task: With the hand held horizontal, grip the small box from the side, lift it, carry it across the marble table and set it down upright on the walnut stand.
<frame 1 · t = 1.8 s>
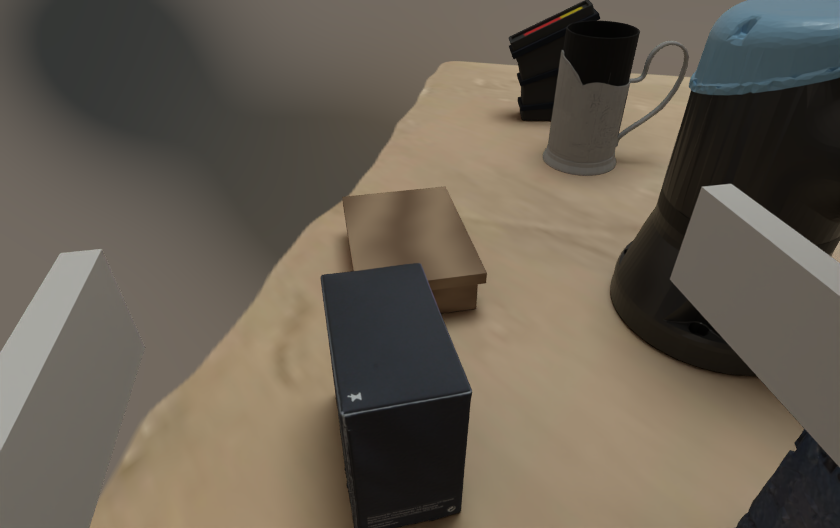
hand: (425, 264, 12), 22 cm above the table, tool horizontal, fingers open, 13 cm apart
small box: (394, 448, 34), on the table
walnut stand: (408, 268, 48), on the table
glass holder: (600, 160, 66), on the table
magazine: (549, 118, 77), on the table
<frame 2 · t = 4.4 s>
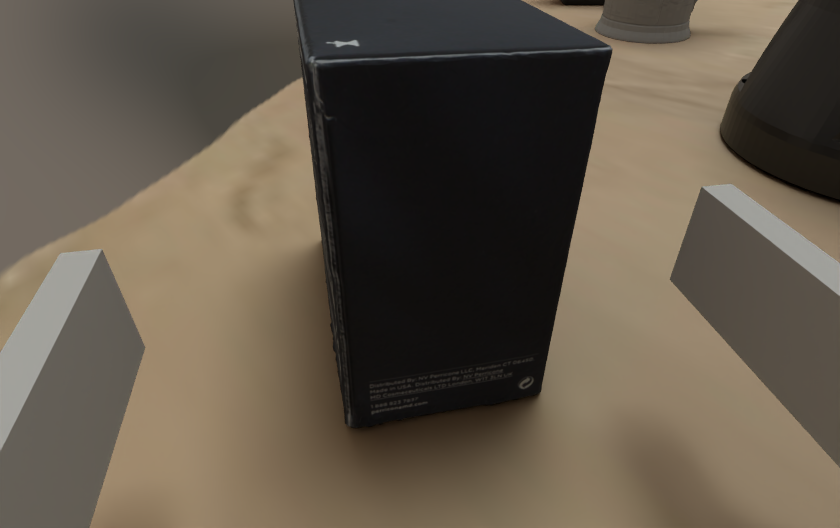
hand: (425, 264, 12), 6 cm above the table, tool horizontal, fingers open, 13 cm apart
small box: (416, 307, 20), on the table
glass holder: (669, 33, 52), on the table
magazine: (596, 4, 63), on the table
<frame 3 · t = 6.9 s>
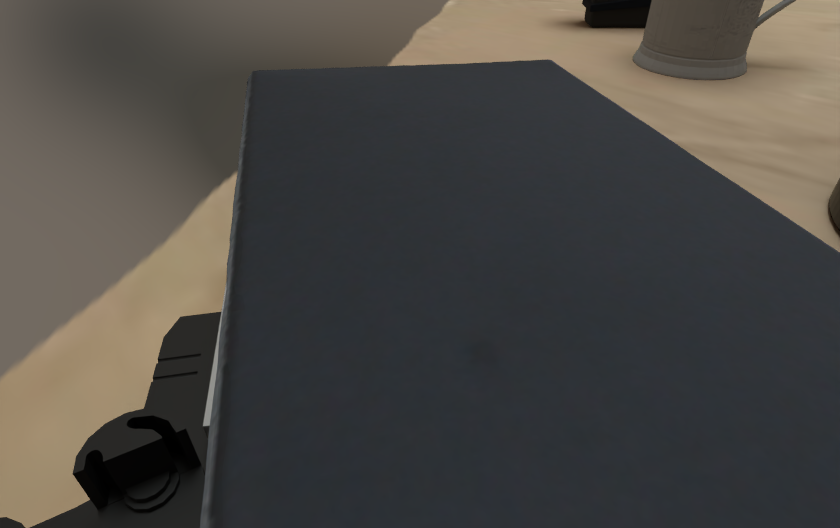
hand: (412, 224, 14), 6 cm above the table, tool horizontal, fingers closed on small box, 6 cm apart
glass holder: (720, 65, 45), on the table
magazine: (627, 26, 56), on the table
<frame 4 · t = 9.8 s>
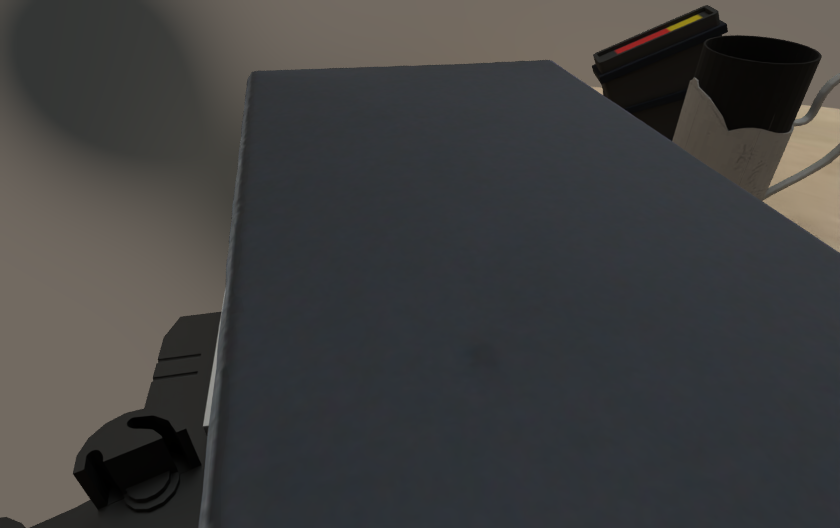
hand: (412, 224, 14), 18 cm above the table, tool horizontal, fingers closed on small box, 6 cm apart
glass holder: (727, 228, 47), on the table
magazine: (639, 160, 58), on the table
when the fingers open (11 cm above the table, at t = 12.8 s): small box drops 1 cm, resting on walnut stand.
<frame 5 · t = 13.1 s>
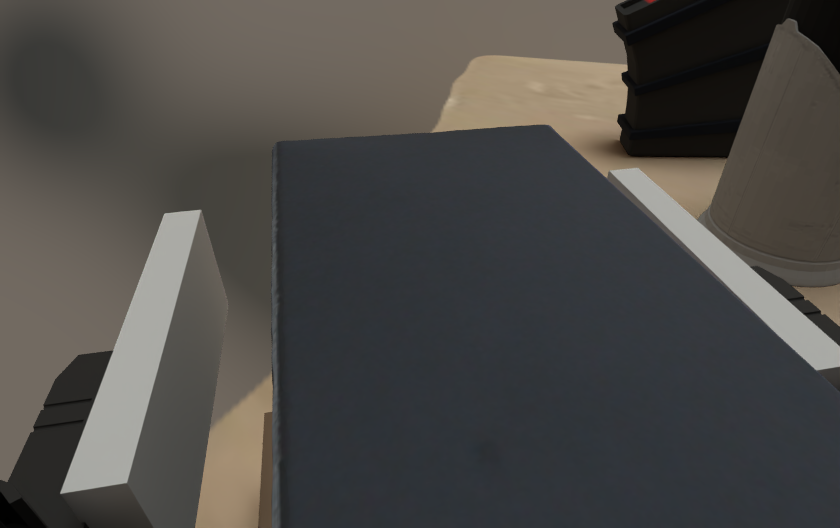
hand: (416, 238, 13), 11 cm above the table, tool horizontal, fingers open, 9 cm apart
glass holder: (815, 245, 33), on the table
magazine: (674, 151, 44), on the table
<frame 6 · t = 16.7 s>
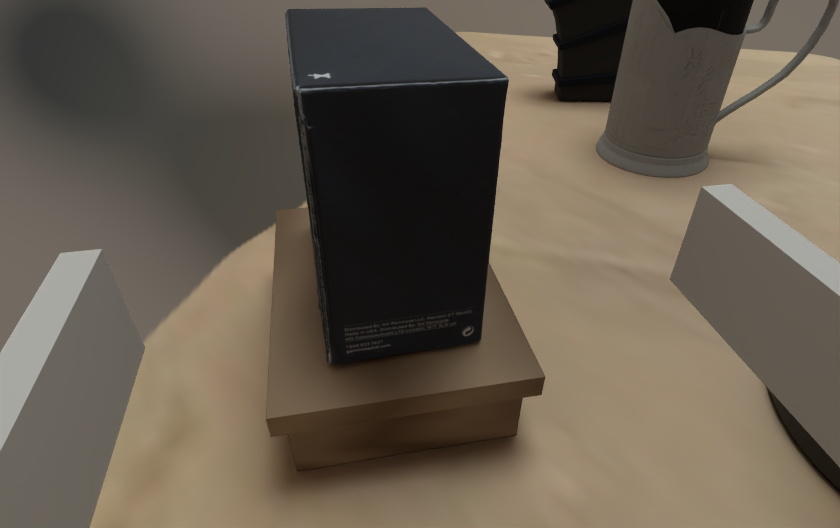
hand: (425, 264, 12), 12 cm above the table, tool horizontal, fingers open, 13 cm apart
small box: (388, 279, 25), point 4 cm above the table, touching walnut stand
walnut stand: (388, 340, 27), on the table
glass holder: (683, 155, 44), on the table
magazine: (596, 98, 55), on the table
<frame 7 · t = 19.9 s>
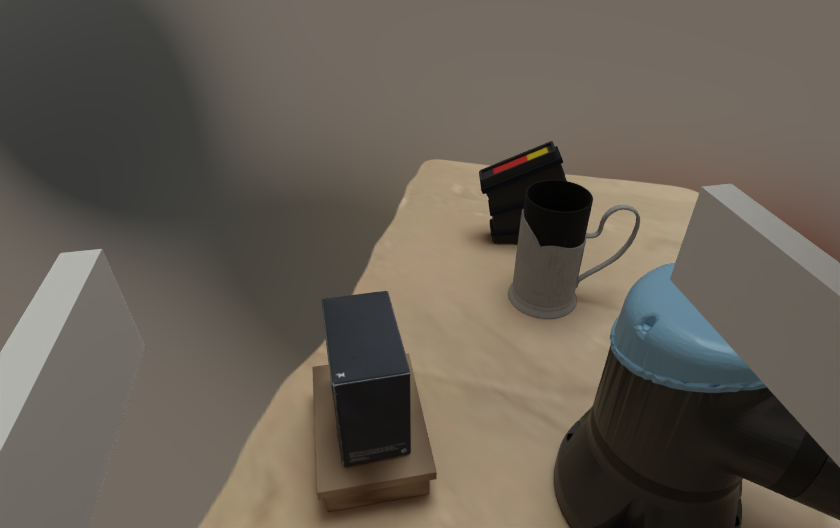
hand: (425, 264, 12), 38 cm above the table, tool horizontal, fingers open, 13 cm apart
small box: (370, 414, 51), point 4 cm above the table, touching walnut stand
walnut stand: (371, 440, 53), on the table
glass holder: (562, 297, 70), on the table
magazine: (520, 239, 81), on the table
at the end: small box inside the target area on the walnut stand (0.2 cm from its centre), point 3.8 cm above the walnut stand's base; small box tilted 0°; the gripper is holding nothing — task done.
